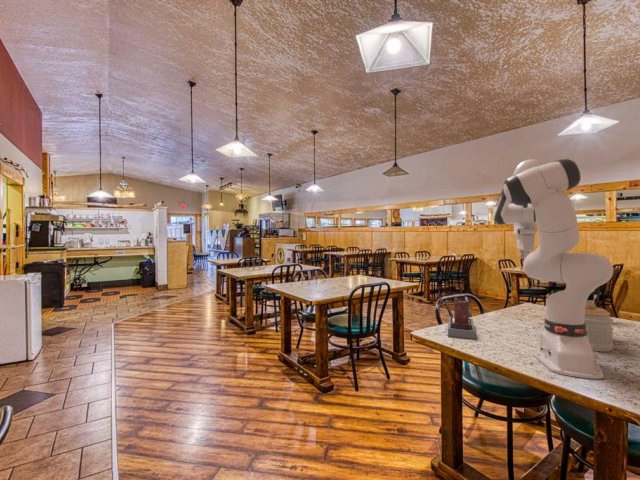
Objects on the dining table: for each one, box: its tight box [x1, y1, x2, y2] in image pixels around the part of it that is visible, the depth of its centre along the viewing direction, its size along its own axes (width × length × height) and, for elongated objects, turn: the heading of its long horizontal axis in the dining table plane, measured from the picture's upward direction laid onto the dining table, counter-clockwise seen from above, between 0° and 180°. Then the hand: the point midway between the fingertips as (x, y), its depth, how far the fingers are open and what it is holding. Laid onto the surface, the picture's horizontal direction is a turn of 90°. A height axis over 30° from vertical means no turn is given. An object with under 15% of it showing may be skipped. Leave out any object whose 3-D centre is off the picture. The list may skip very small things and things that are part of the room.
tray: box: [447, 316, 476, 340], centre depth 151 cm, size 22×11×4 cm, turn 157°
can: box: [453, 299, 470, 330], centre depth 148 cm, size 6×6×14 cm
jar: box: [584, 302, 614, 353], centre depth 129 cm, size 13×13×18 cm
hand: (524, 259), depth 153 cm, fingers open, 8 cm apart
